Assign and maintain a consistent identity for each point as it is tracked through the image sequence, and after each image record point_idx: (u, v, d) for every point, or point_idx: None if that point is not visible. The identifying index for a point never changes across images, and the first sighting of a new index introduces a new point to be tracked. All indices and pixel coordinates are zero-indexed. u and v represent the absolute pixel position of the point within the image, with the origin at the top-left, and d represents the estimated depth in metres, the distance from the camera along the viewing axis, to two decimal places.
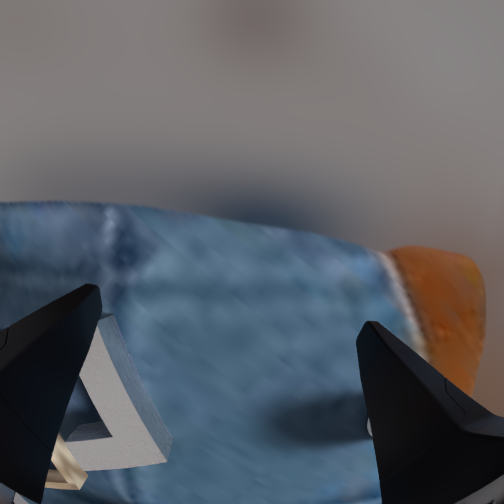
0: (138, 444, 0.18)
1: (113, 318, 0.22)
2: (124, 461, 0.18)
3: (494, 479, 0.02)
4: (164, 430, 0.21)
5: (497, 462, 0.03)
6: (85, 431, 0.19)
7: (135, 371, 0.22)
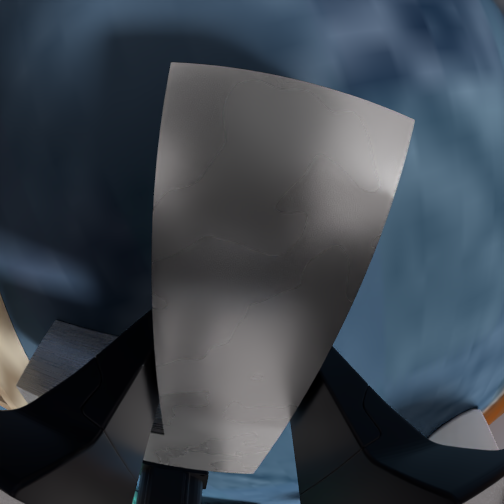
0: (222, 454, 0.08)
1: None
2: (157, 458, 0.09)
3: None
4: None
5: None
6: (71, 362, 0.09)
7: None
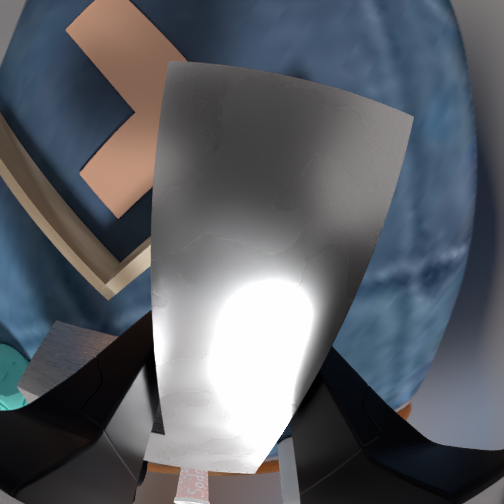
0: (223, 454, 0.08)
1: None
2: (157, 458, 0.09)
3: None
4: None
5: None
6: (72, 363, 0.09)
7: None
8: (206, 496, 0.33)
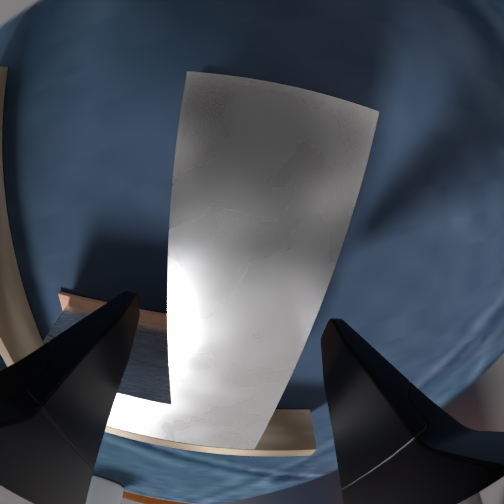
0: (225, 426, 0.09)
1: None
2: (163, 433, 0.10)
3: (455, 503, 0.02)
4: None
5: (458, 485, 0.02)
6: None
7: None
8: None
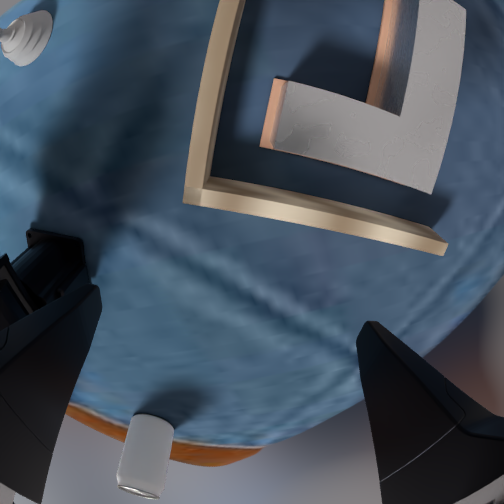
0: (423, 148, 0.13)
1: None
2: (379, 162, 0.13)
3: (494, 479, 0.02)
4: None
5: (497, 462, 0.03)
6: None
7: None
8: None
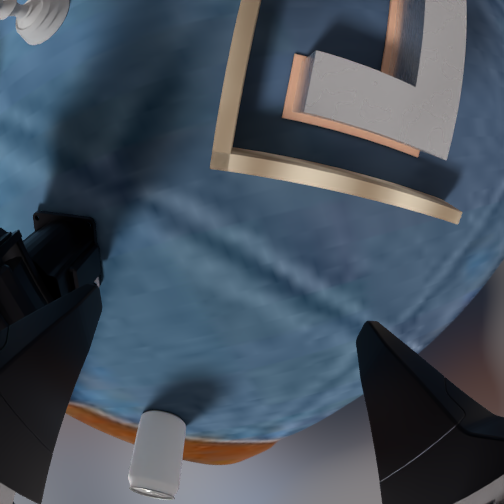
0: (437, 117, 0.13)
1: None
2: (400, 127, 0.13)
3: (494, 479, 0.02)
4: None
5: (497, 462, 0.03)
6: None
7: None
8: None
